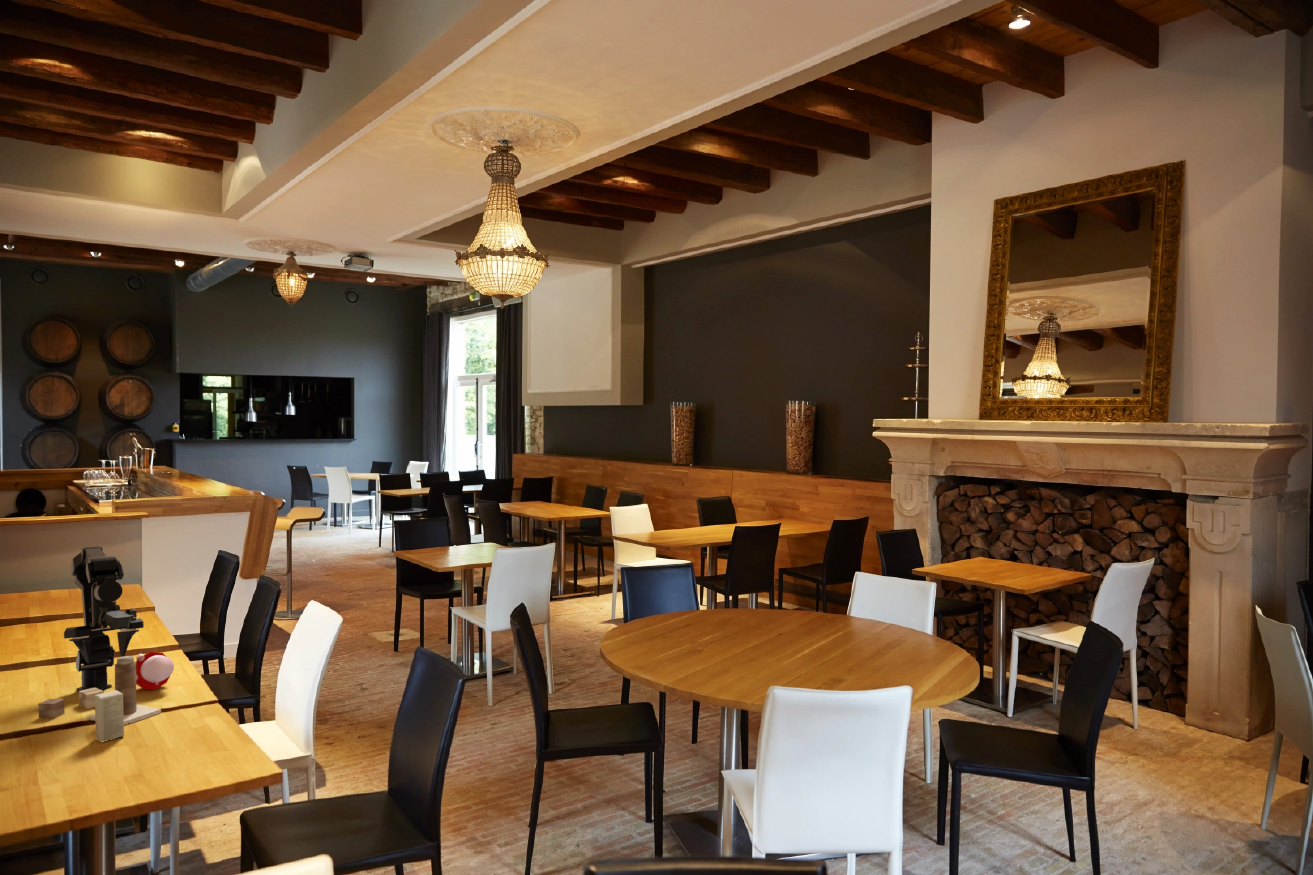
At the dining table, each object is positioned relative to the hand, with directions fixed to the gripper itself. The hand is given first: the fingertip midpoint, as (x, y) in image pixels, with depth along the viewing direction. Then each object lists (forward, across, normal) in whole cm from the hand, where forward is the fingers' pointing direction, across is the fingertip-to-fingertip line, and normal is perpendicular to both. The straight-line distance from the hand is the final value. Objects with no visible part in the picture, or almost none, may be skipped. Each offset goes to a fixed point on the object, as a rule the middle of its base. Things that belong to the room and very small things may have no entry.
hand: (106, 659), depth 235 cm
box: (+18, -14, -23) cm, 32 cm away
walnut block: (+12, -11, +6) cm, 18 cm away
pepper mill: (+14, -2, -12) cm, 18 cm away
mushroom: (+5, +14, -3) cm, 15 cm away
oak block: (+12, -1, +6) cm, 13 cm away
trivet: (+15, -2, -11) cm, 19 cm away
